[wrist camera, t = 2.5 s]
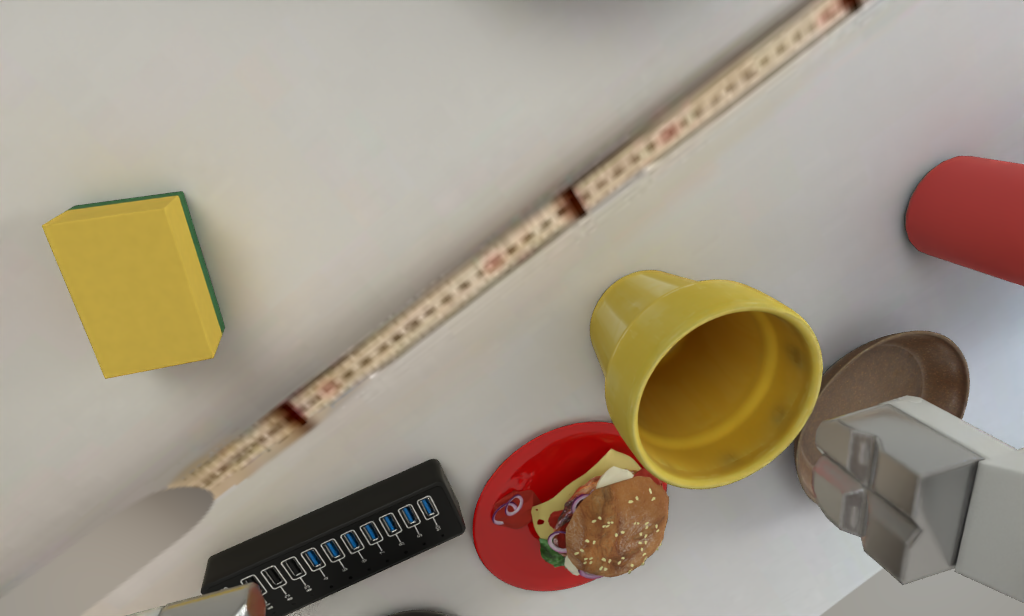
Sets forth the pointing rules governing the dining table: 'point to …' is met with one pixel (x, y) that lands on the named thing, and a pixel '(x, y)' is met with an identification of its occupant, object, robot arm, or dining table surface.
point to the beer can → (971, 215)
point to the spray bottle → (418, 613)
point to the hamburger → (569, 510)
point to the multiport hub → (343, 541)
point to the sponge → (138, 282)
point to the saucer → (885, 385)
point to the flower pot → (703, 375)
